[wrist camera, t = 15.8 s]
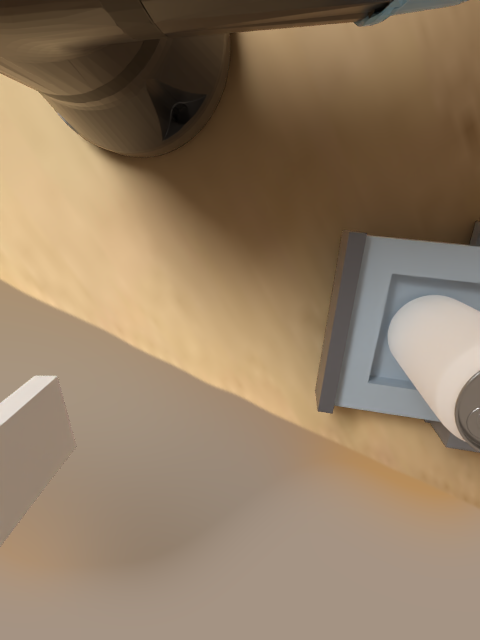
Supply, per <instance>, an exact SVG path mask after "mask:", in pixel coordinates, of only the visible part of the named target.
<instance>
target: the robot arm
mask: <svg viewBox="0 0 480 640" xmlns="http://www.w3.org/2000/svg"><path fill="white" fill-rule="evenodd" d="M466 1H468V0H0V73H1V74H3V75H5V76H7V77H9V78H11V79H13V80H16V81H18V82H20V83H22V84H24V85H26V86H28V87H30V88H33V89H35V90H37V91H39V93H40V94H41V95H42V96H43V97H44V98H45V99H46V100H47V101H48V103H49V104H50V105H51V106H52V107H53V108H54V109H55V111H56V112H57V114H58V115H59V116H60V117H61V118H62V120H63V121H64V122H65V123H66V124H67V125H68V126H69V127H70V128H71V129H73V130H74V131H75V132H76V133H77V134H79V135H80V136H82V137H83V138H84V139H86V140H87V141H89V142H91V143H93V144H95V145H97V146H99V147H101V148H104V149H106V150H109V151H112V152H114V153H117V154H121V155H124V156H129V157H153V156H158V155H162V154H165V153H168V152H170V151H173V150H175V149H177V148H179V147H180V146H182V145H184V144H185V143H186V142H188V141H189V140H190V139H192V138H193V137H194V136H195V135H196V134H197V133H198V132H199V131H200V130H201V129H202V128H203V127H204V125H205V124H206V123H207V121H208V120H209V119H210V117H211V115H212V114H213V112H214V111H215V109H216V107H217V105H218V103H219V100H220V98H221V96H222V93H223V90H224V87H225V84H226V80H227V75H228V70H229V63H230V48H231V47H230V33H236V32H247V31H258V30H270V29H281V28H292V27H303V26H314V25H326V24H337V23H348V22H354V23H355V24H356V25H357V26H360V27H361V26H371V25H374V24H377V23H379V22H382V21H384V20H385V19H387V18H388V17H389V16H392V15H398V14H405V13H411V12H417V11H424V10H430V9H436V8H443V7H449V6H454V5H458V4H460V3H463V2H466ZM75 448H76V442H75V439H74V435H73V431H72V428H71V424H70V420H69V417H68V413H67V410H66V406H65V402H64V399H63V395H62V391H61V387H60V384H59V380H58V376H34V377H33V378H32V379H30V380H29V381H27V382H26V383H25V384H24V385H22V386H21V387H20V388H19V389H17V390H16V391H15V392H14V393H12V394H11V395H10V396H9V397H7V398H6V399H5V400H4V401H2V402H1V403H0V547H1V545H2V544H3V543H4V541H5V540H6V539H7V537H8V536H9V535H10V533H11V532H12V531H13V529H14V528H15V527H16V526H17V524H18V523H19V522H20V520H21V519H22V517H23V516H24V515H25V514H26V512H27V511H28V510H29V508H30V507H31V506H32V505H33V503H34V502H35V501H36V499H37V498H38V497H39V495H40V494H41V493H42V491H43V490H44V489H45V487H46V486H47V485H48V483H49V482H50V481H51V479H52V478H53V477H54V476H55V474H56V473H57V472H58V470H59V469H60V468H61V466H62V465H63V464H64V462H65V461H66V460H67V459H68V457H69V456H70V455H71V453H72V452H73V450H74V449H75Z"/></svg>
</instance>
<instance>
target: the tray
mask: <svg viewBox="0 0 480 640" xmlns="http://www.w3.org/2000/svg"><path fill="white" fill-rule="evenodd" d="M427 295H442V296H447V297H450V298H453V299H455V300H457V301H460V302H462V303H464V304H466V305H468V306H470V307H472V308H474V309H476V310H478V311H480V246H476V245H465V244H455V243H445V242H435V241H424V240H414V239H404V238H394V237H384V236H373V235H367V233H363V232H359V231H349V230H343V232H342V237H341V243H340V249H339V255H338V261H337V266H336V272H335V278H334V284H333V290H332V296H331V301H330V307H329V313H328V319H327V325H326V331H325V336H324V342H323V348H322V354H321V360H320V365H319V371H318V377H317V383H316V389H315V393H316V401H317V409H318V411H319V412H326V413H332V414H333V408H334V406H340V407H347V408H353V409H360V410H366V411H373V412H379V413H386V414H392V415H399V416H405V417H412V418H418V419H425V420H432V421H438V422H441V421H440V420H439V419H438V417H437V416H436V415H435V413H434V412H433V411H432V409H431V408H430V407H429V405H428V404H427V403H426V401H425V400H424V398H423V397H422V396H421V394H420V393H419V391H418V390H417V389H416V387H415V386H414V384H413V383H412V382H411V380H410V379H409V377H408V376H407V375H406V373H405V372H404V370H403V369H402V368H401V366H400V365H399V363H398V362H397V361H396V359H395V358H394V356H393V355H392V353H391V351H390V348H389V345H388V337H387V336H388V328H389V325H390V322H391V320H392V318H393V317H394V315H395V314H396V313H397V311H398V310H399V309H400V308H401V307H403V306H404V305H405V304H407V303H408V302H410V301H412V300H414V299H416V298H419V297H422V296H427Z"/></svg>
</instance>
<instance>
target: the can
mask: <svg viewBox="0 0 480 640" xmlns="http://www.w3.org/2000/svg"><path fill="white" fill-rule="evenodd" d="M387 337H388V345H389V348H390V351H391V353H392V355H393V356H394V358H395V359H396V361H397V362H398V363H399V365H400V366H401V368H402V369H403V370H404V372H405V373H406V375H407V376H408V377H409V379H410V380H411V382H412V383H413V384H414V386H415V387H416V389H417V390H418V391H419V393H420V394H421V396H422V397H423V398H424V400H425V401H426V403H427V404H428V405H429V407H430V408H431V409H432V411H433V412H434V413H435V415H436V416H437V417H438V419H439V420H440V421H441V423H442V424H443V425H444V426H445V427H446V428H447V429H448V430H449V431H450V432H451V433H452V434H453V435H455V436H456V437H458V438H459V439H461V440H463V441H465V442H467V443H468V444H469V445H470V446H471V447H472V448H474V449H475V450H477V451H479V452H480V311H478V310H476V309H474V308H472V307H470V306H468V305H466V304H464V303H462V302H460V301H457V300H455V299H453V298H450V297H447V296H442V295H427V296H422V297H419V298H416V299H414V300H412V301H410V302H408V303H407V304H405V305H404V306H403V307H401V308H400V309H399V310H398V311H397V313H396V314H395V315H394V317H393V318H392V320H391V322H390V325H389V328H388V336H387Z"/></svg>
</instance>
